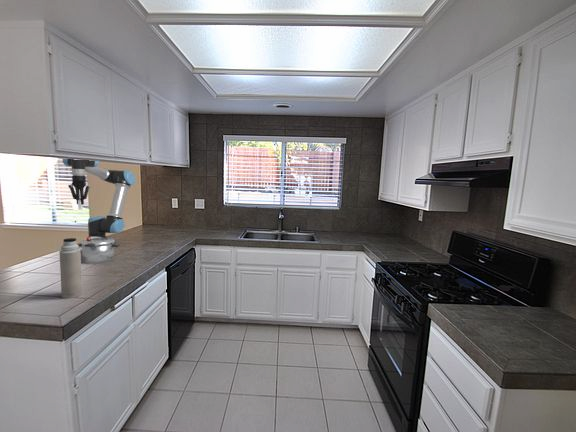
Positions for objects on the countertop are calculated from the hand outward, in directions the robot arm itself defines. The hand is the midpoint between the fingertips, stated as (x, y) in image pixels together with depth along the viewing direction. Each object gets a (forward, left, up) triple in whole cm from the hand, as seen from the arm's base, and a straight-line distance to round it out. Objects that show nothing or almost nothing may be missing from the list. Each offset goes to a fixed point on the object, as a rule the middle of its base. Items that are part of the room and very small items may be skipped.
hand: (80, 209), depth 203 cm
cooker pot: (+13, +16, -33) cm, 39 cm away
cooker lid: (+15, +16, -21) cm, 31 cm away
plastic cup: (-4, +6, -34) cm, 34 cm away
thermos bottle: (+73, +30, -34) cm, 86 cm away
